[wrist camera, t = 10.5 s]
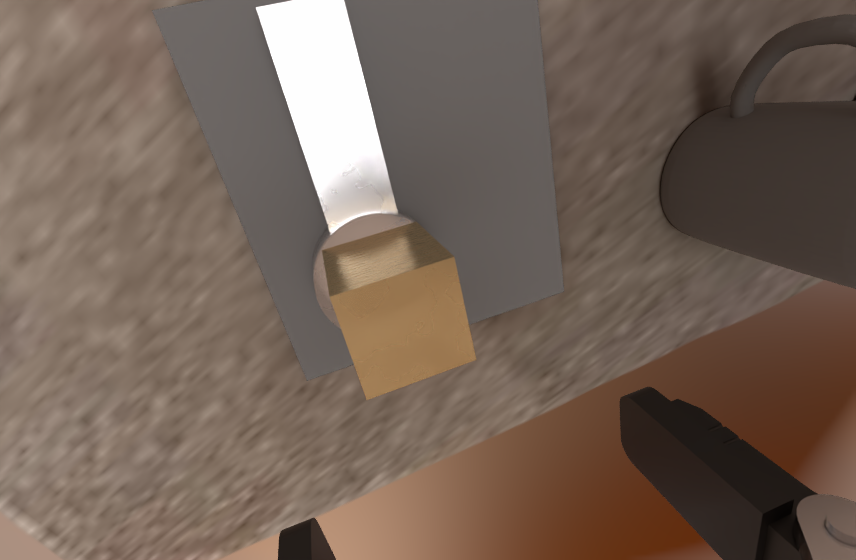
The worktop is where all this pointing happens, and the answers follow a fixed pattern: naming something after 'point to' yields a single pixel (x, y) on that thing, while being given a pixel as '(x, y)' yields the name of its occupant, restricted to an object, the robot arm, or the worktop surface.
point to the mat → (388, 146)
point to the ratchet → (332, 124)
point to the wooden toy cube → (398, 307)
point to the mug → (773, 169)
